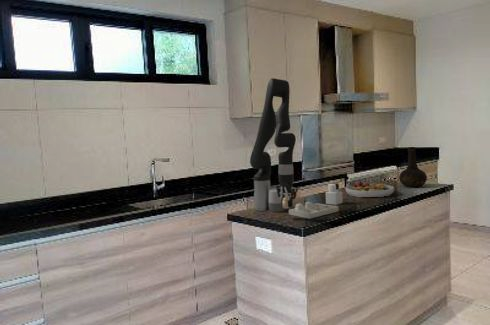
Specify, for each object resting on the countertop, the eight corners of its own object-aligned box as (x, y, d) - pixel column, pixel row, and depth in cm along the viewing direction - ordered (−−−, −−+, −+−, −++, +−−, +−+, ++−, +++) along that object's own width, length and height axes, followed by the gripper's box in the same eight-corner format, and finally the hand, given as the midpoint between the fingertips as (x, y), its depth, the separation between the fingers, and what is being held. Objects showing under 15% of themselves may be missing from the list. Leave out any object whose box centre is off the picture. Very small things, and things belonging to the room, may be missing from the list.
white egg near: (293, 214, 203) (293, 203, 203) (299, 212, 206) (299, 202, 206) (299, 215, 200) (299, 204, 199) (305, 213, 202) (305, 203, 202)
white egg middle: (303, 211, 208) (302, 201, 207) (308, 210, 210) (308, 200, 210) (309, 212, 204) (308, 202, 204) (314, 211, 207) (314, 201, 206)
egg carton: (288, 215, 204) (288, 209, 204) (317, 208, 217) (317, 203, 217) (309, 220, 192) (309, 213, 192) (338, 212, 205) (338, 206, 205)
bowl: (404, 195, 244) (404, 183, 243) (365, 200, 233) (365, 188, 232) (372, 189, 272) (372, 178, 271) (336, 194, 261) (336, 182, 260)
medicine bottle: (332, 201, 234) (331, 182, 233) (342, 203, 229) (342, 183, 228) (325, 203, 229) (325, 183, 228) (336, 205, 224) (335, 184, 223)
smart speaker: (265, 212, 214) (264, 187, 213) (276, 209, 221) (275, 185, 220) (278, 214, 208) (277, 188, 206) (289, 211, 214) (288, 186, 213)
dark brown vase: (430, 185, 273) (429, 146, 271) (422, 189, 260) (421, 147, 257) (404, 184, 285) (403, 146, 282) (395, 187, 272) (394, 148, 269)
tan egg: (280, 207, 195) (280, 196, 195) (287, 206, 198) (287, 195, 197) (286, 208, 192) (286, 197, 191) (293, 207, 194) (292, 196, 193)
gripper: (301, 173, 189) (302, 207, 191) (282, 171, 201) (283, 203, 202) (289, 175, 185) (290, 210, 187) (271, 172, 196) (272, 205, 198)
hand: (286, 206), depth 195 cm, fingers closed on tan egg, 4 cm apart
